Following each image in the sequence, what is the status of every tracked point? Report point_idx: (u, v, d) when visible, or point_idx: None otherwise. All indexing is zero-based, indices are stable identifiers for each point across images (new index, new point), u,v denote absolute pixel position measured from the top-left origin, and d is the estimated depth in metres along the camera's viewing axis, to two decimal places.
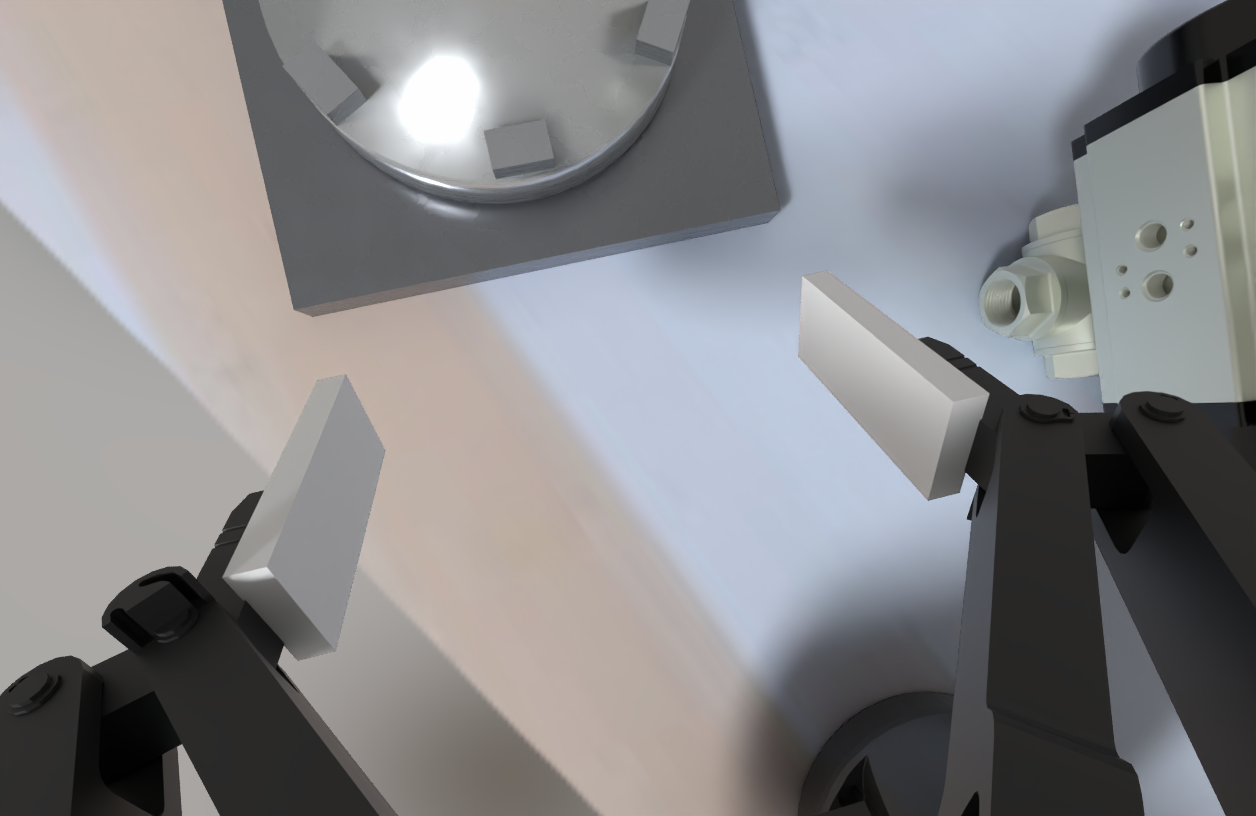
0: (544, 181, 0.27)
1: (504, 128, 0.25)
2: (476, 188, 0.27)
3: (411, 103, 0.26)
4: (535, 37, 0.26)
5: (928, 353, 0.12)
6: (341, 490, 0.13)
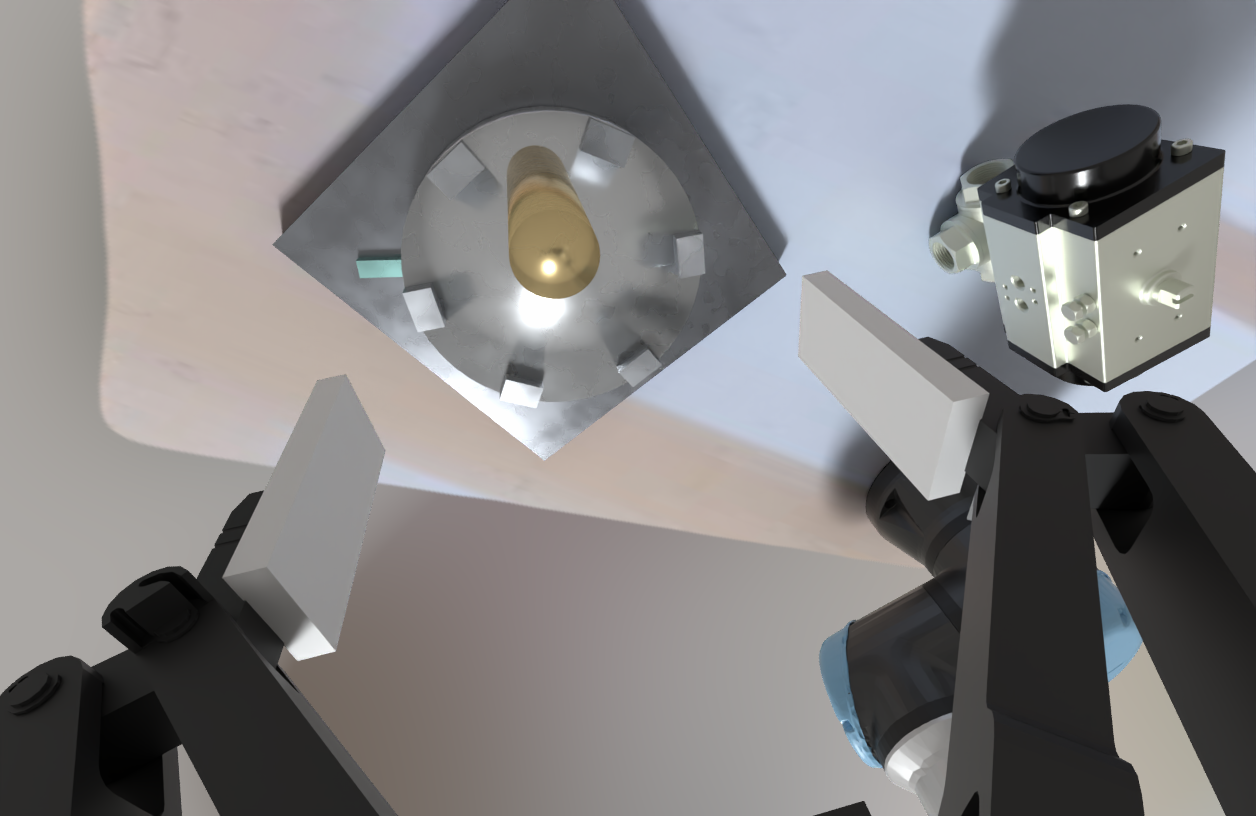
0: None
1: (628, 365, 0.42)
2: None
3: (565, 370, 0.42)
4: (614, 298, 0.39)
5: (928, 353, 0.12)
6: (341, 490, 0.13)
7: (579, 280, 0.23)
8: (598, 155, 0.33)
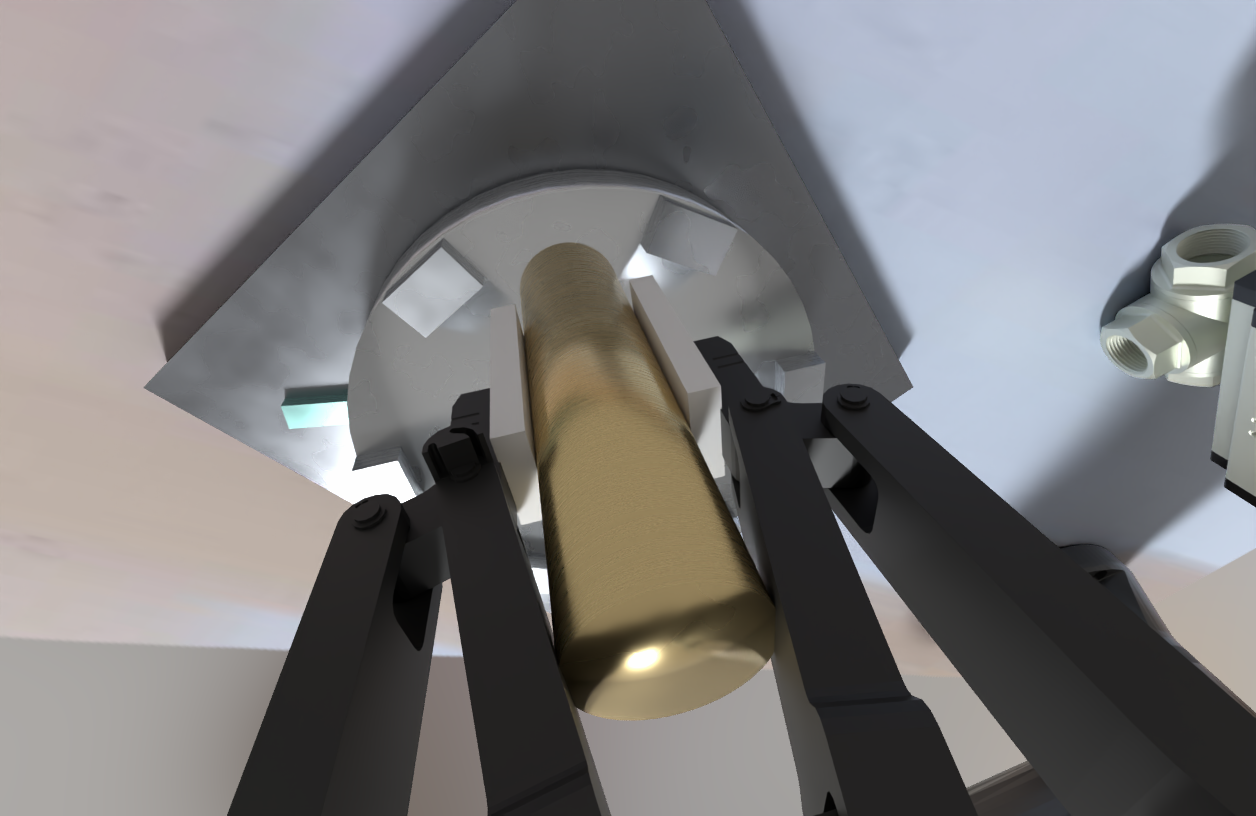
0: None
1: None
2: None
3: None
4: None
5: (692, 350, 0.14)
6: None
7: (720, 684, 0.10)
8: (675, 259, 0.20)
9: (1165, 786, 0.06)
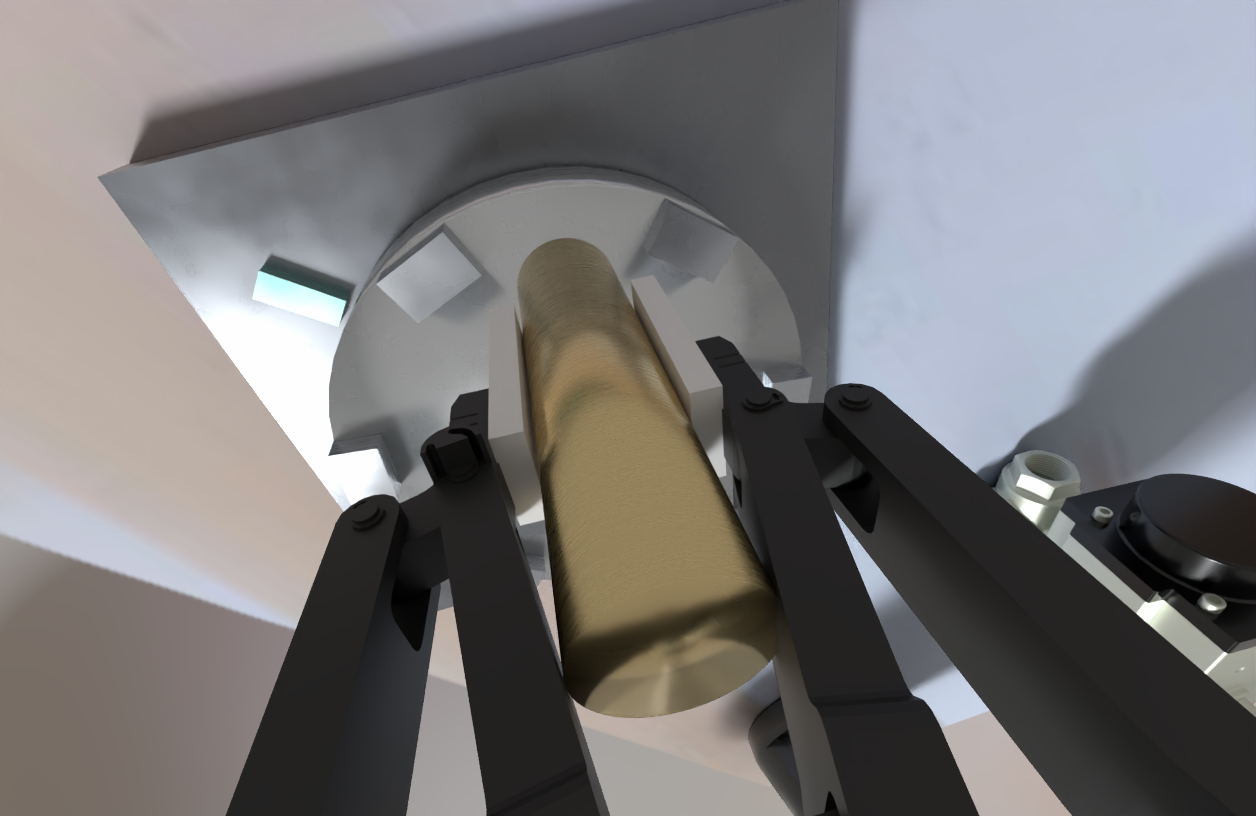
0: None
1: None
2: None
3: None
4: None
5: (694, 350, 0.14)
6: (529, 396, 0.15)
7: (719, 684, 0.10)
8: (675, 262, 0.20)
9: (1166, 786, 0.06)
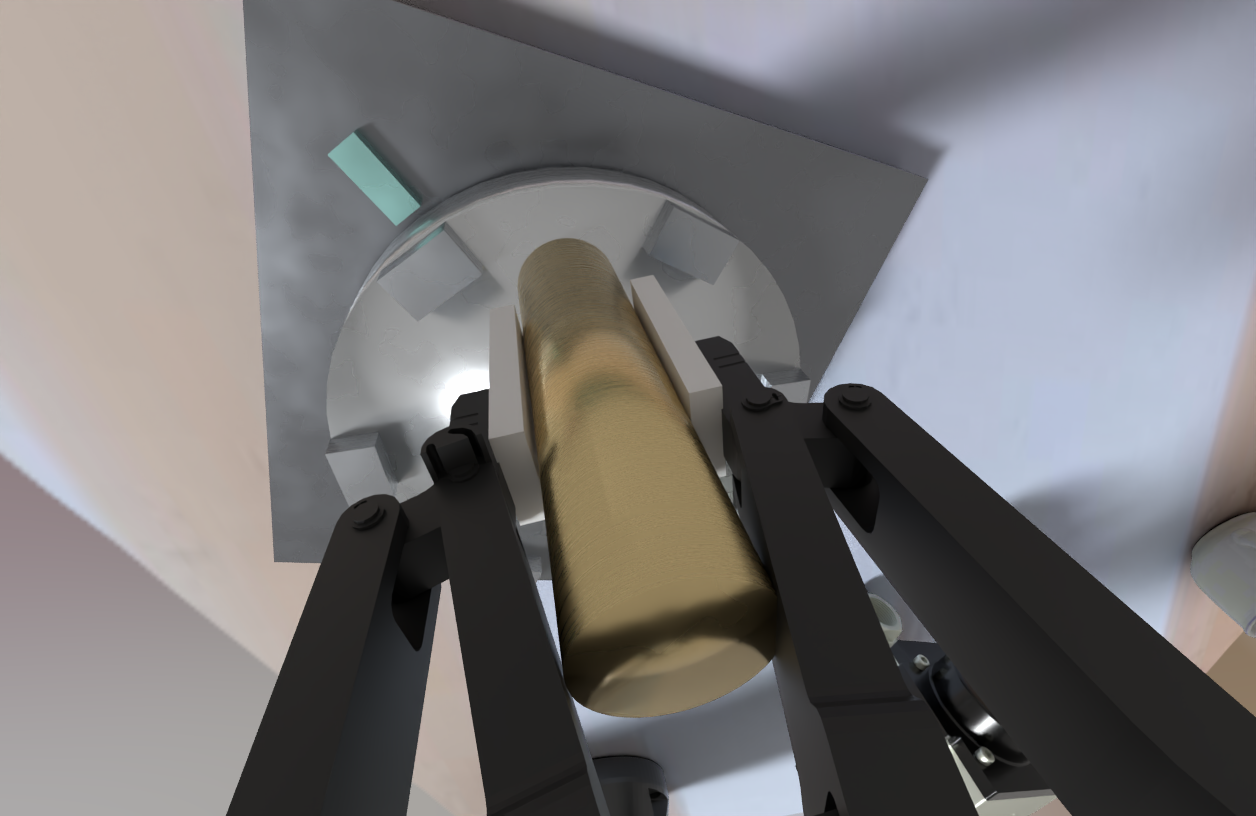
0: None
1: None
2: None
3: None
4: None
5: (694, 350, 0.14)
6: None
7: (719, 684, 0.10)
8: (676, 264, 0.20)
9: (1166, 787, 0.06)
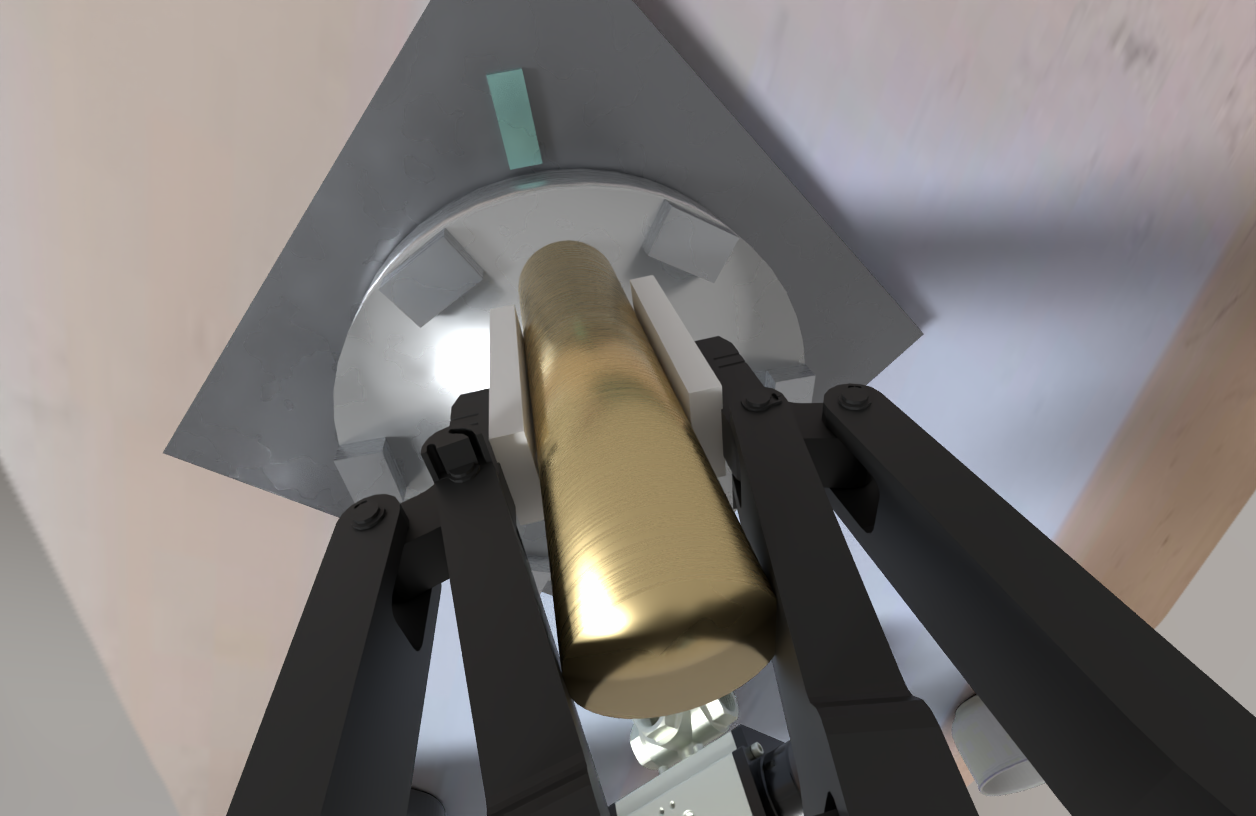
0: None
1: None
2: None
3: None
4: None
5: (693, 350, 0.14)
6: None
7: (720, 685, 0.10)
8: (676, 263, 0.20)
9: (1166, 786, 0.06)
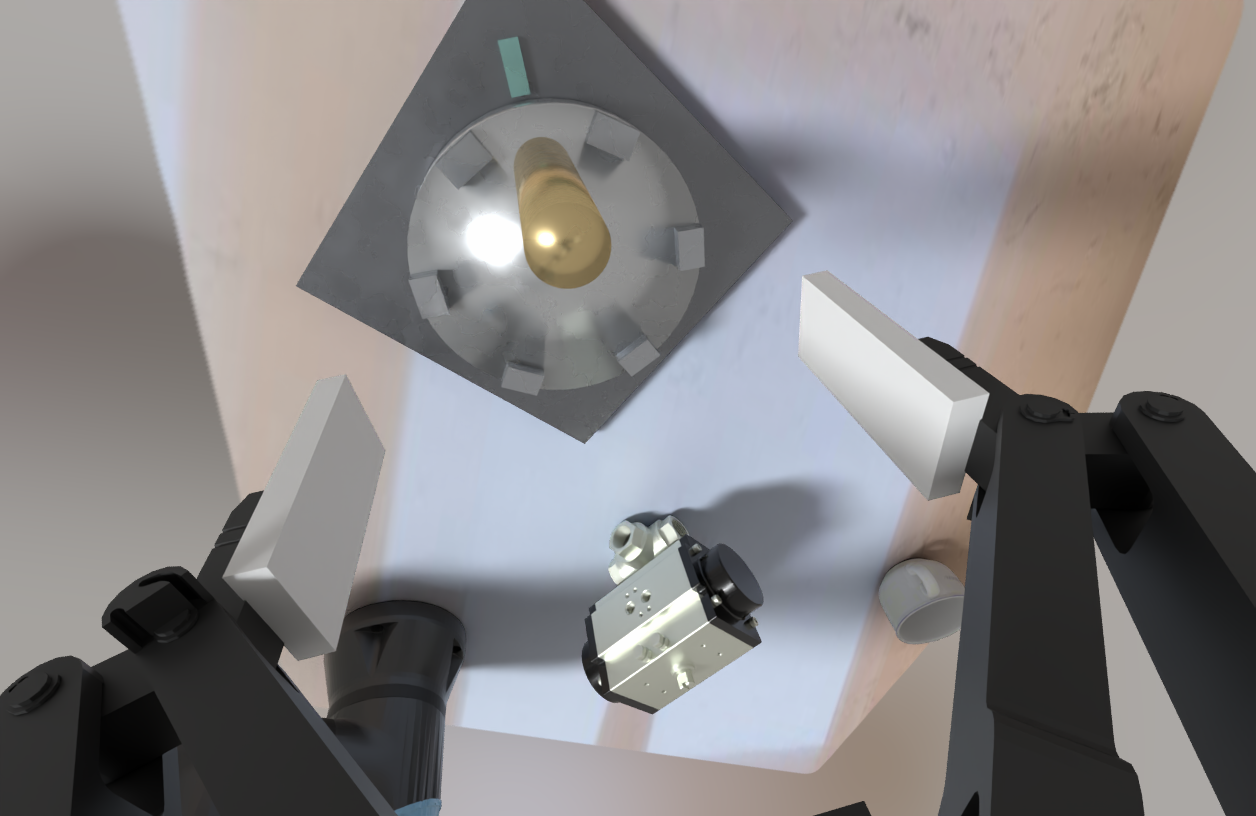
0: None
1: (628, 355, 0.42)
2: None
3: (566, 358, 0.43)
4: (615, 289, 0.40)
5: (928, 353, 0.12)
6: (341, 490, 0.13)
7: (590, 271, 0.24)
8: (604, 148, 0.34)
9: None
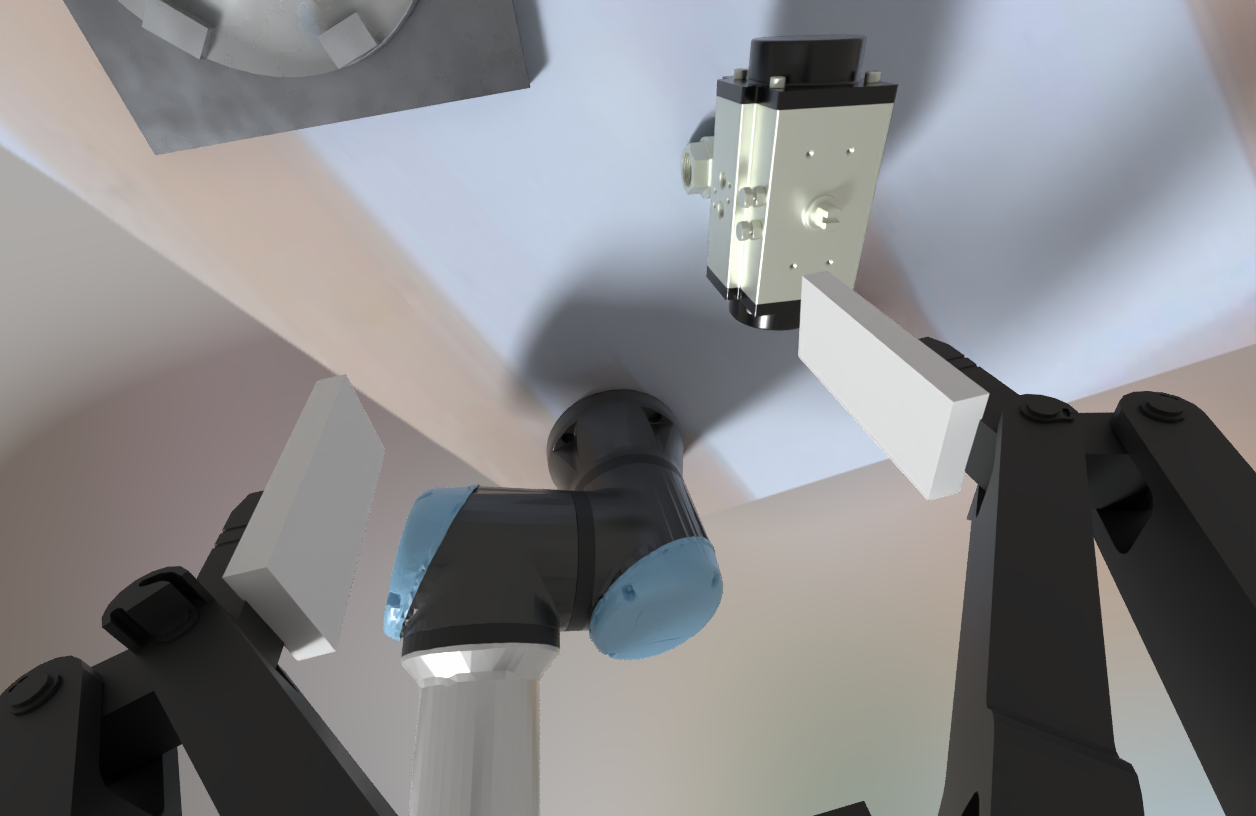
0: None
1: None
2: None
3: None
4: None
5: (928, 353, 0.12)
6: (341, 490, 0.13)
7: None
8: None
9: None
